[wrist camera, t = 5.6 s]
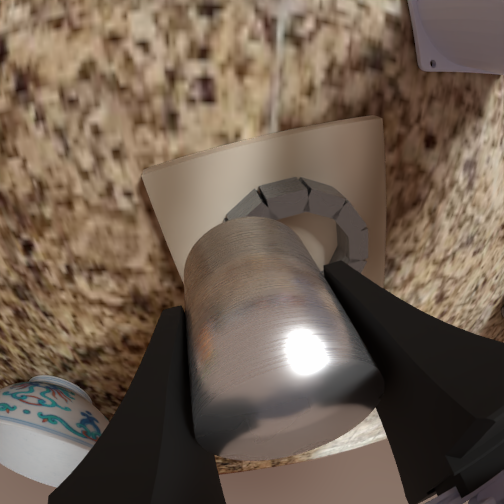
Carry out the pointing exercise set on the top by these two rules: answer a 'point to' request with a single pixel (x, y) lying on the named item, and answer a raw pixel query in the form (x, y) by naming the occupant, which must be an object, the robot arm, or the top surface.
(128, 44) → the top surface
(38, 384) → the chinaware
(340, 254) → the ring collar
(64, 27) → the top surface
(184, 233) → the birch board
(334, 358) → the cylinder
